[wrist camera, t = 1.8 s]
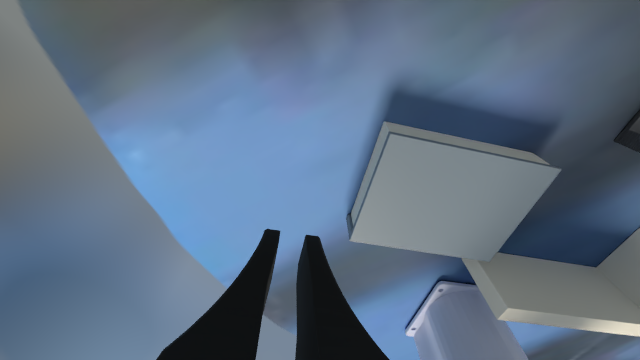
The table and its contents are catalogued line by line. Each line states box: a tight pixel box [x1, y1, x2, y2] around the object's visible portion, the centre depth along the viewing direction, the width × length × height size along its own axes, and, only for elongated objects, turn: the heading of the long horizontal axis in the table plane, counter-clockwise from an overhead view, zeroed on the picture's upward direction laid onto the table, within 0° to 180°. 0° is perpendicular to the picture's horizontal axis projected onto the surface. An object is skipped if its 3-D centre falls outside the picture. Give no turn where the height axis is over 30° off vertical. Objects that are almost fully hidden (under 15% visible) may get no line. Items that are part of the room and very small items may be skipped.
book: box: [346, 121, 562, 262], centre depth 21 cm, size 9×12×3 cm
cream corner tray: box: [462, 228, 640, 336], centre depth 21 cm, size 14×15×6 cm
